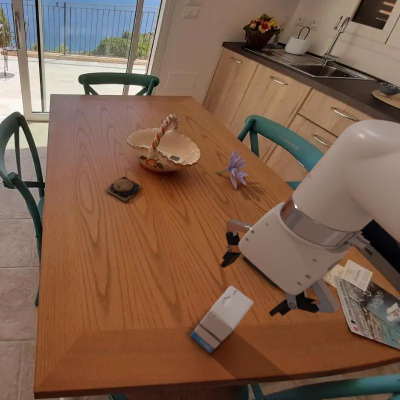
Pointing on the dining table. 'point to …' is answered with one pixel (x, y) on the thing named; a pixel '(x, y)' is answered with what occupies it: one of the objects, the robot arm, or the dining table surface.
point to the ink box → (221, 319)
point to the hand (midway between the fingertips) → (249, 286)
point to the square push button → (124, 189)
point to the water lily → (236, 168)
